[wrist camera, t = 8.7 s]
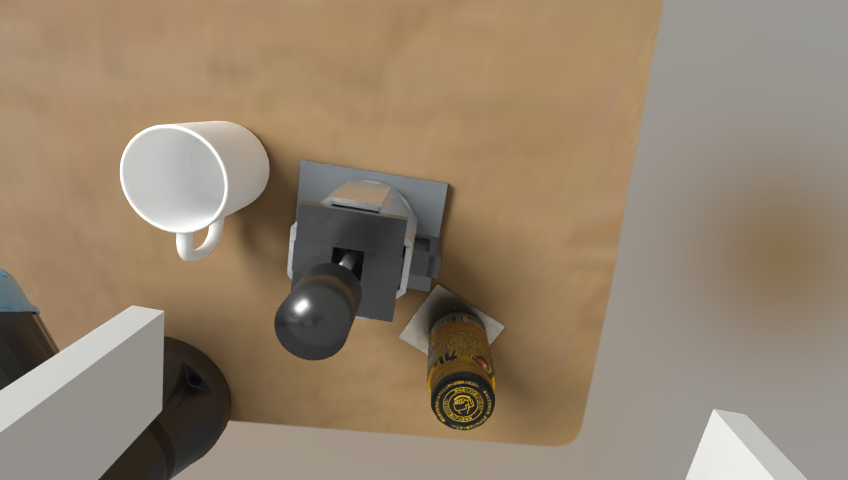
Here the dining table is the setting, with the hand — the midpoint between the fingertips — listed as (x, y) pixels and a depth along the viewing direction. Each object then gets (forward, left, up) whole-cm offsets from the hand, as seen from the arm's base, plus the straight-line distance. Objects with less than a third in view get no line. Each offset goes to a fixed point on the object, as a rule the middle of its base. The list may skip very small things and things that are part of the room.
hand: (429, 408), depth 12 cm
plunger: (-6, -6, -33) cm, 34 cm away
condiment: (+4, -15, -36) cm, 40 cm away
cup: (-20, -4, -36) cm, 42 cm away
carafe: (-5, -6, -35) cm, 36 cm away
